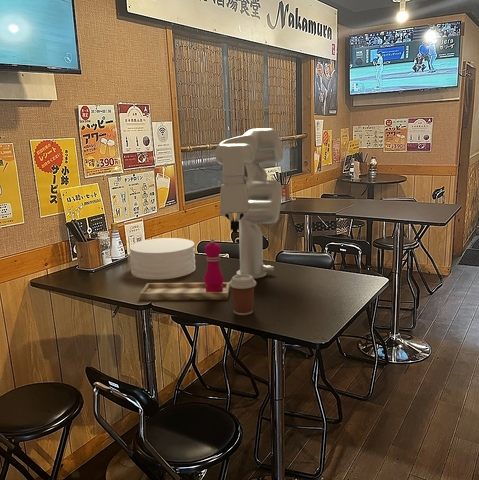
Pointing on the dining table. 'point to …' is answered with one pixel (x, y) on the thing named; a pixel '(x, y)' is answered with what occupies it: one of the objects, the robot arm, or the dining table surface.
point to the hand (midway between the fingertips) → (234, 231)
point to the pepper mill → (213, 268)
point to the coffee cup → (242, 293)
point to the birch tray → (181, 291)
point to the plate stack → (162, 258)
